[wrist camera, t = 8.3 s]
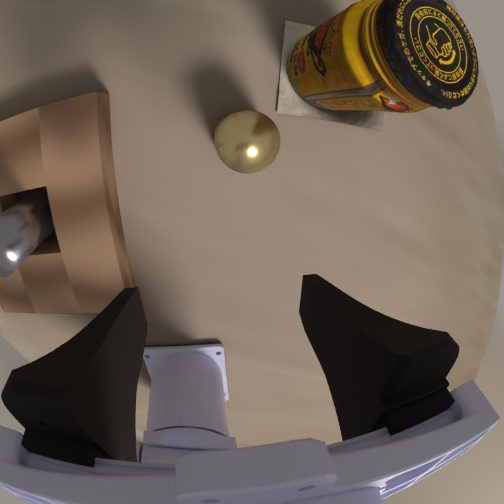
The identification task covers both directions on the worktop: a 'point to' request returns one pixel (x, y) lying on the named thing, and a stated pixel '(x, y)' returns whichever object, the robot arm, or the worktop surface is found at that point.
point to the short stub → (247, 141)
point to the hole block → (66, 207)
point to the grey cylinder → (23, 230)
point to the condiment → (377, 62)
